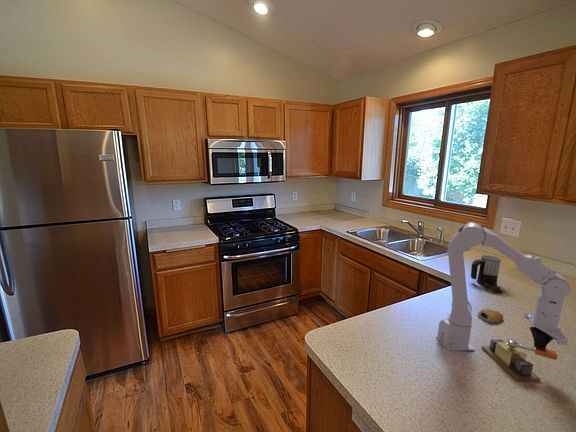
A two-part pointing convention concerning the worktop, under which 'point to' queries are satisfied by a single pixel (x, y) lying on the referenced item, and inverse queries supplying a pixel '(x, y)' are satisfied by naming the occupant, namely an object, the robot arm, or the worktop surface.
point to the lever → (534, 349)
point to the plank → (511, 370)
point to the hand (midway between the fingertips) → (538, 350)
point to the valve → (511, 357)
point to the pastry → (490, 315)
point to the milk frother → (487, 271)
